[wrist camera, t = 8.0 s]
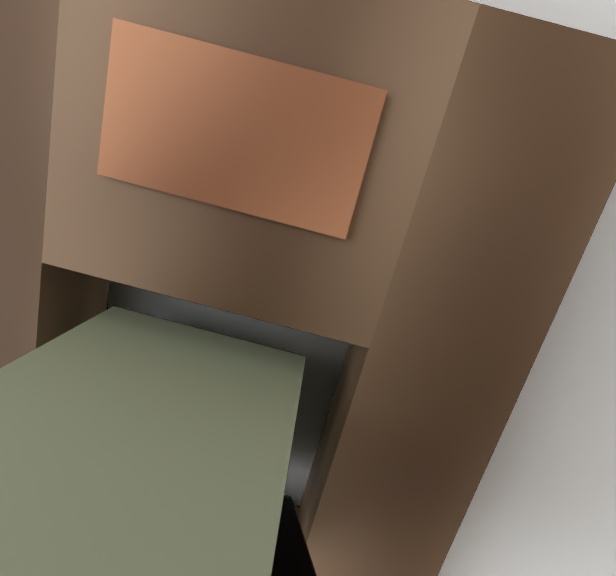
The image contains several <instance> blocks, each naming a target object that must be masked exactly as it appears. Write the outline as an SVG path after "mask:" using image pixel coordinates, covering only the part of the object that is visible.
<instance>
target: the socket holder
mask: <svg viewBox="0 0 616 576" xmlns="http://www.w3.org/2000/svg"><path fill="white" fill-rule="evenodd" d="M615 182H616V40H615V39H611V38H607V37H604V36H600V35H596V34H592V33H589V32H585V31H581V30H577V29H573V28H570V27H566V26H562V25H558V24H555V23H551V22H547V21H543V20H540V19H536V18H532V17H528V16H524V15H521V14H517V13H513V12H509V11H506V10H502V9H498V8H494V7H491V6H487V5H483V4H479V3H475V2H472V1H468V0H0V368H2V367H4V366H5V365H7V364H9V363H11V362H13V361H15V360H16V359H18V358H20V357H22V356H24V355H26V354H27V353H29V352H31V351H33V350H35V349H36V348H38V347H40V346H42V345H44V344H46V343H47V342H49V341H51V340H53V339H55V338H56V337H58V336H60V335H62V334H64V333H66V332H67V331H69V330H71V329H73V328H75V327H77V326H78V325H80V324H82V323H84V322H86V321H87V320H89V319H91V318H93V317H95V316H97V315H98V314H100V313H102V312H104V311H106V308H107V299H108V291H109V283H110V281H114V282H118V283H122V284H125V285H129V286H133V287H137V288H141V289H145V290H148V291H152V292H156V293H160V294H164V295H167V296H171V297H175V298H179V299H183V300H186V301H190V302H194V303H198V304H202V305H205V306H209V307H213V308H217V309H221V310H224V311H228V312H232V313H236V314H240V315H243V316H247V317H251V318H255V319H259V320H263V321H266V322H270V323H274V324H278V325H282V326H285V327H289V328H293V329H297V330H301V331H304V332H308V333H312V334H316V335H320V336H323V337H327V338H331V339H335V340H339V341H342V342H346V343H350V344H349V347H348V350H347V353H346V357H345V360H344V363H343V366H342V370H341V373H340V376H339V380H338V383H337V386H336V389H335V393H334V396H333V399H332V402H331V406H330V409H329V412H328V415H327V419H326V422H325V425H324V428H323V432H322V435H321V438H320V442H319V445H318V448H317V451H316V455H315V458H314V461H313V464H312V468H311V471H310V474H309V477H308V481H307V484H306V487H305V491H304V494H303V497H302V500H301V504H300V507H295V509H296V512H297V516H298V519H299V522H300V525H301V528H302V531H303V534H304V537H305V541H306V544H307V547H308V550H309V553H310V556H311V559H312V562H313V565H314V569H315V572H316V575H317V576H437V575H438V573H439V571H440V569H441V567H442V564H443V562H444V560H445V558H446V555H447V553H448V551H449V549H450V547H451V544H452V542H453V540H454V538H455V536H456V533H457V531H458V529H459V527H460V525H461V522H462V520H463V518H464V516H465V513H466V511H467V509H468V507H469V505H470V502H471V500H472V498H473V496H474V494H475V491H476V489H477V487H478V485H479V483H480V480H481V478H482V476H483V474H484V472H485V469H486V467H487V465H488V463H489V460H490V458H491V456H492V454H493V452H494V449H495V447H496V445H497V443H498V441H499V438H500V436H501V434H502V432H503V430H504V427H505V425H506V423H507V421H508V419H509V416H510V414H511V412H512V410H513V407H514V405H515V403H516V401H517V399H518V396H519V394H520V392H521V390H522V388H523V385H524V383H525V381H526V379H527V377H528V374H529V372H530V370H531V368H532V365H533V363H534V361H535V359H536V357H537V354H538V352H539V350H540V348H541V346H542V343H543V341H544V339H545V337H546V335H547V332H548V330H549V328H550V326H551V324H552V321H553V319H554V317H555V315H556V312H557V310H558V308H559V306H560V304H561V301H562V299H563V297H564V295H565V293H566V290H567V288H568V286H569V284H570V282H571V279H572V277H573V275H574V273H575V270H576V268H577V266H578V264H579V262H580V259H581V257H582V255H583V253H584V251H585V248H586V246H587V244H588V242H589V240H590V237H591V235H592V233H593V231H594V229H595V226H596V224H597V222H598V220H599V217H600V215H601V213H602V211H603V209H604V206H605V204H606V202H607V200H608V198H609V195H610V193H611V191H612V189H613V187H614V184H615Z"/></svg>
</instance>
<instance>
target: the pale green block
mask: <svg viewBox="0 0 616 576" xmlns="http://www.w3.org/2000/svg"><path fill="white" fill-rule="evenodd" d="M305 360H306V357H305V356H302V355H298V354H294V353H290V352H286V351H282V350H279V349H275V348H271V347H267V346H263V345H260V344H256V343H252V342H248V341H244V340H241V339H237V338H233V337H229V336H225V335H222V334H218V333H214V332H210V331H206V330H203V329H199V328H195V327H191V326H187V325H184V324H180V323H176V322H172V321H168V320H165V319H161V318H157V317H153V316H149V315H146V314H142V313H138V312H134V311H130V310H126V309H123V308H119V307H115V306H113V307H111V308H109V309H108V310H106V311H104V312H102V313H100V314H98V315H97V316H95V317H93V318H91V319H89V320H87V321H86V322H84V323H82V324H80V325H78V326H77V327H75V328H73V329H71V330H69V331H67V332H66V333H64V334H62V335H60V336H58V337H56V338H55V339H53V340H51V341H49V342H47V343H46V344H44V345H42V346H40V347H38V348H36V349H35V350H33V351H31V352H29V353H27V354H26V355H24V356H22V357H20V358H18V359H16V360H15V361H13V362H11V363H9V364H7V365H5V366H4V367H2V368H0V576H271V573H272V566H273V560H274V554H275V548H276V541H277V535H278V529H279V522H280V516H281V510H282V504H283V497H284V491H285V485H286V479H287V472H288V466H289V460H290V454H291V447H292V441H293V435H294V429H295V422H296V416H297V410H298V404H299V397H300V391H301V385H302V378H303V372H304V366H305Z"/></svg>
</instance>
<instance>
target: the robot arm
mask: <svg viewBox="0 0 616 576" xmlns="http://www.w3.org/2000/svg"><path fill="white" fill-rule="evenodd" d="M271 576H317V575H316V572H315V569H314V565H313V562H312V559H311V556H310V553H309V550H308V547H307V544H306V541H305V537H304V534H303V531H302V528H301V525H300V522H299V519H298V516H297V512H296V509H295V506H294V503H293V500H292V498H291V497H290V496H288V495H284V497H283V504H282V510H281V516H280V522H279V529H278V535H277V541H276V548H275V554H274V560H273V566H272V573H271Z"/></svg>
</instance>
